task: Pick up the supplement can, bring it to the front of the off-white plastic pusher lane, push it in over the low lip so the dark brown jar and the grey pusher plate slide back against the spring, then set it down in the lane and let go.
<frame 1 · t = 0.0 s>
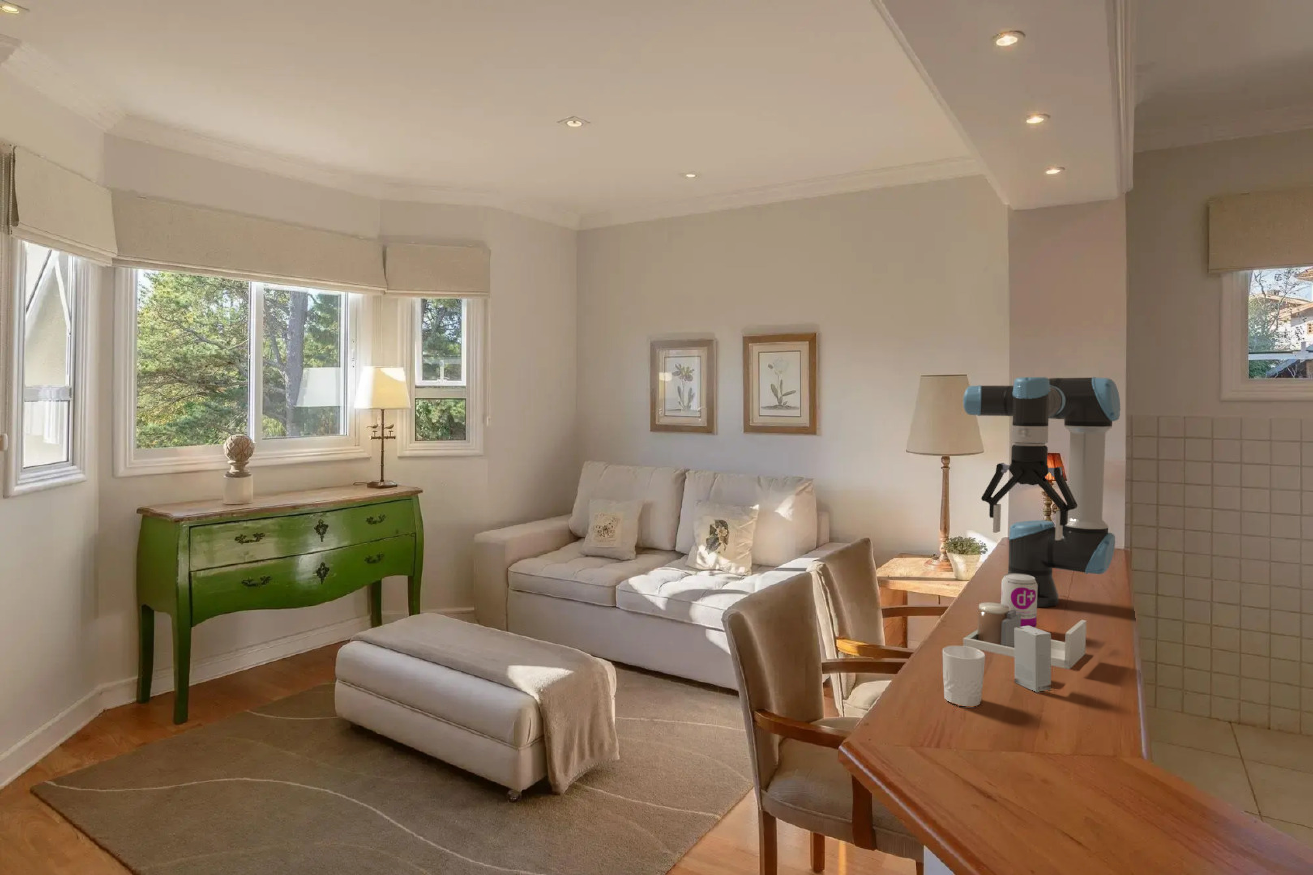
hand: (1026, 535, 182), 28 cm above the breakfast bar, tool pointing down, fingers open, 13 cm apart
skincare box: (1031, 687, 164), on the breakfast bar
lane: (1022, 654, 183), on the breakfast bar
supplement can: (1017, 636, 197), on the breakfast bar
white cup: (962, 701, 157), on the breakfast bar
pusher: (1011, 628, 185), point 6 cm above the breakfast bar, slide at 6.5 cm, touching jar
jar: (993, 643, 187), point 1 cm above the breakfast bar, touching lane, pusher
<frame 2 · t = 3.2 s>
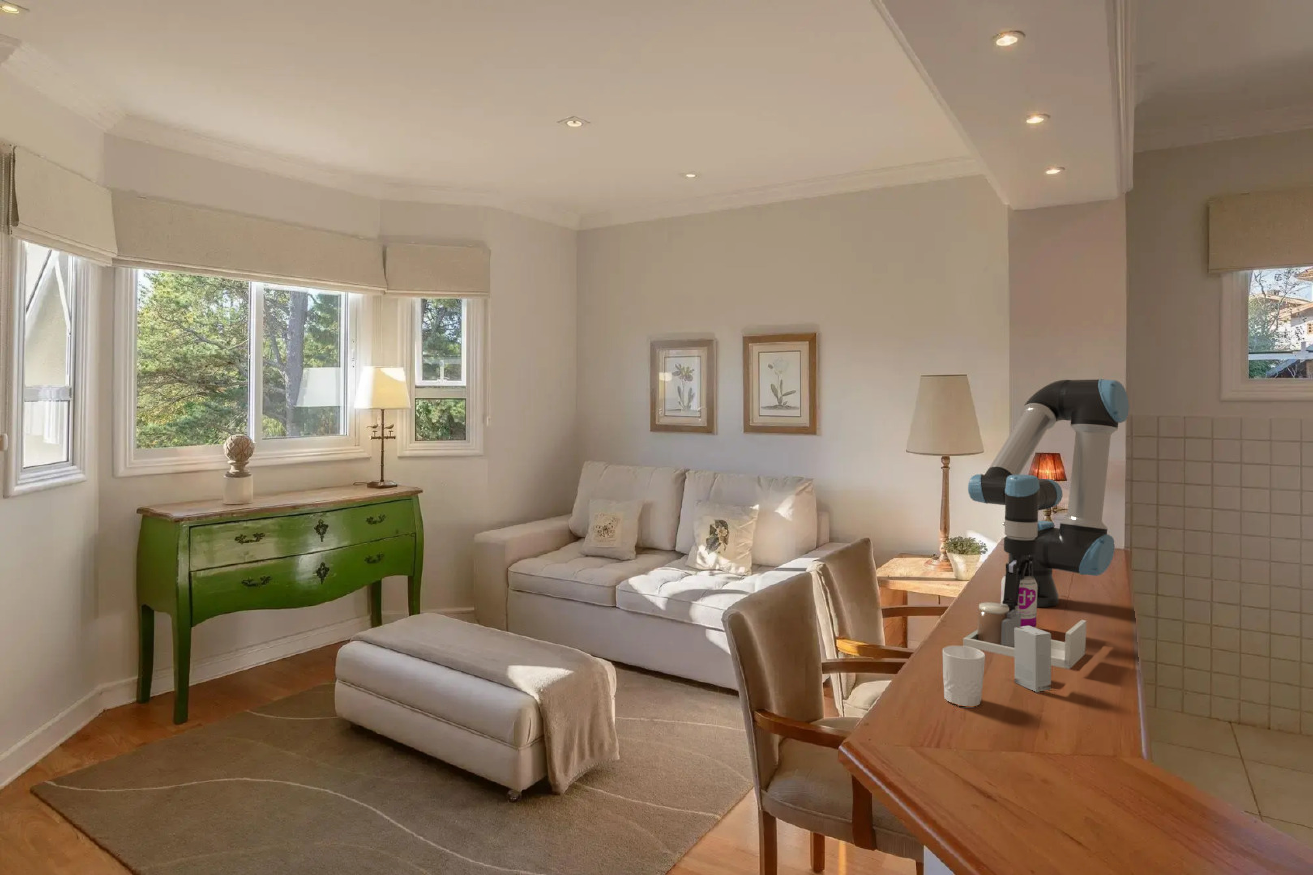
hand: (1017, 626, 197), 2 cm above the breakfast bar, tool pointing down, fingers closed on supplement can, 8 cm apart
supplement can: (1017, 636, 197), on the breakfast bar, touching gripper
everything else where it was.
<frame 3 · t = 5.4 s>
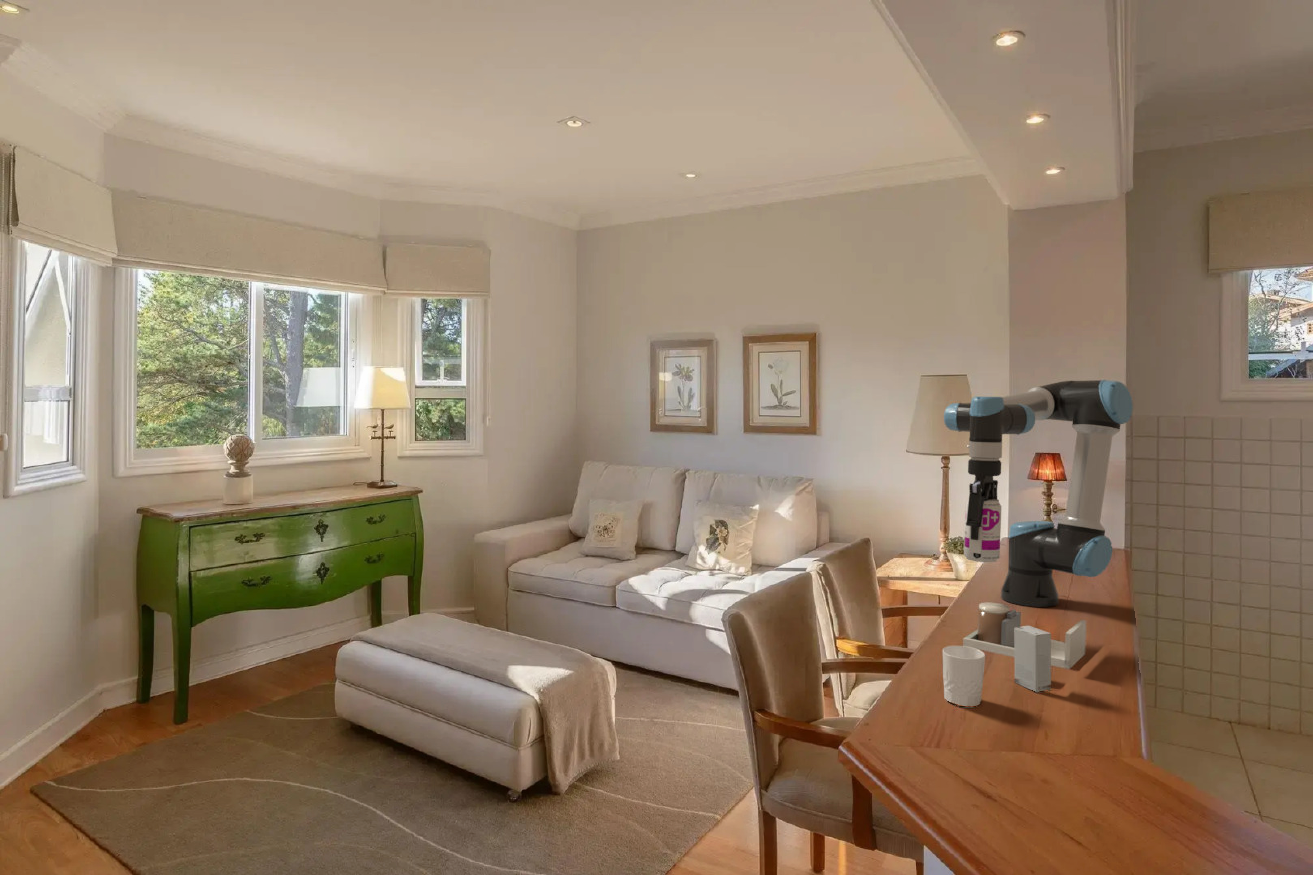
hand: (981, 549, 195), 22 cm above the breakfast bar, tool pointing down, fingers closed on supplement can, 8 cm apart
supplement can: (981, 560, 195), point 19 cm above the breakfast bar, touching gripper
everything else where it was.
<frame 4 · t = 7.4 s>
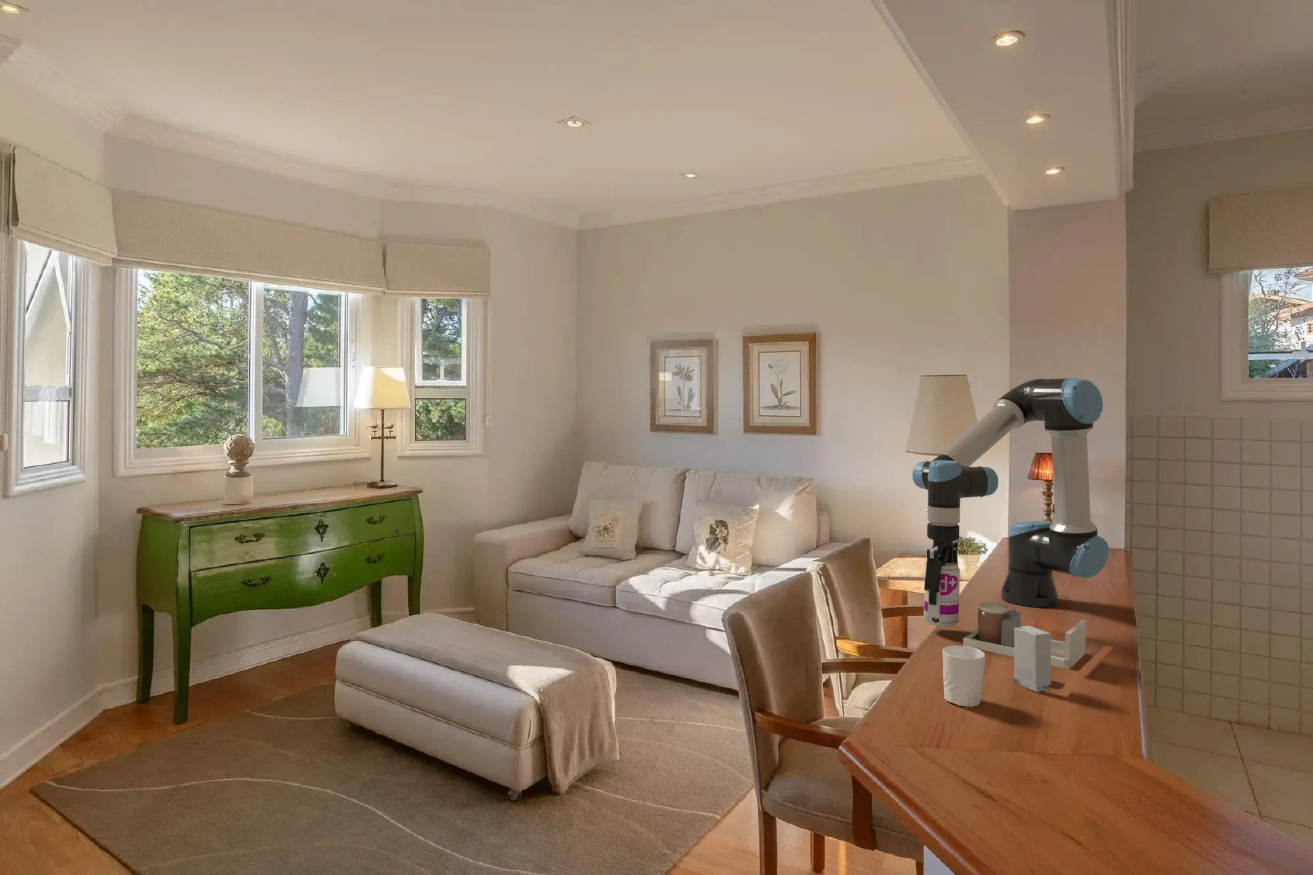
hand: (941, 613, 196), 6 cm above the breakfast bar, tool pointing down, fingers closed on supplement can, 8 cm apart
supplement can: (940, 623, 196), point 4 cm above the breakfast bar, touching gripper
everything else where it was.
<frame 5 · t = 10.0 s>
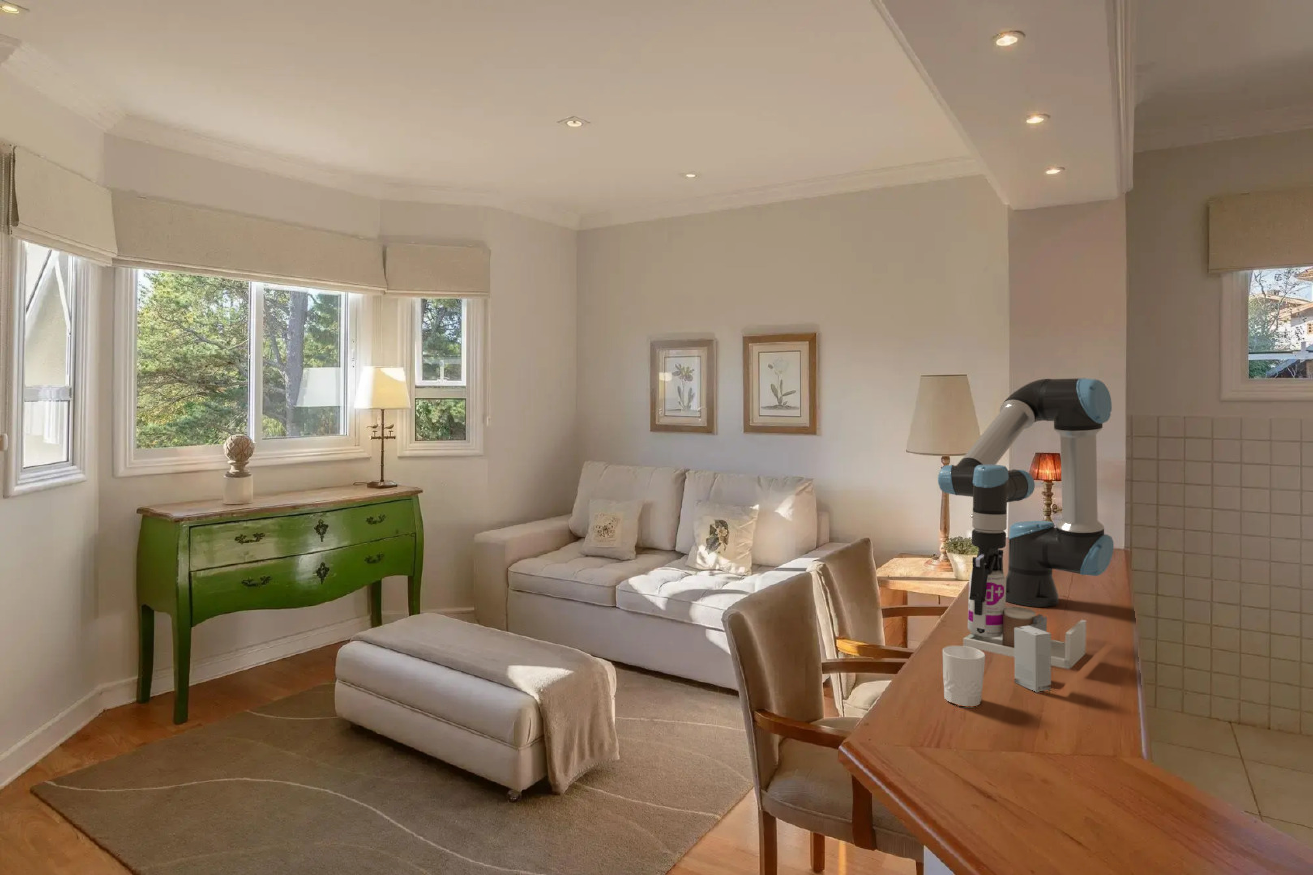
hand: (986, 623, 188), 6 cm above the breakfast bar, tool pointing down, fingers closed on supplement can, 8 cm apart
supplement can: (985, 633, 189), point 3 cm above the breakfast bar, touching gripper, jar
pusher: (1037, 634, 181), point 6 cm above the breakfast bar, slide at 12.3 cm, touching jar
jar: (1018, 648, 184), point 1 cm above the breakfast bar, touching pusher, supplement can
everything else where it was.
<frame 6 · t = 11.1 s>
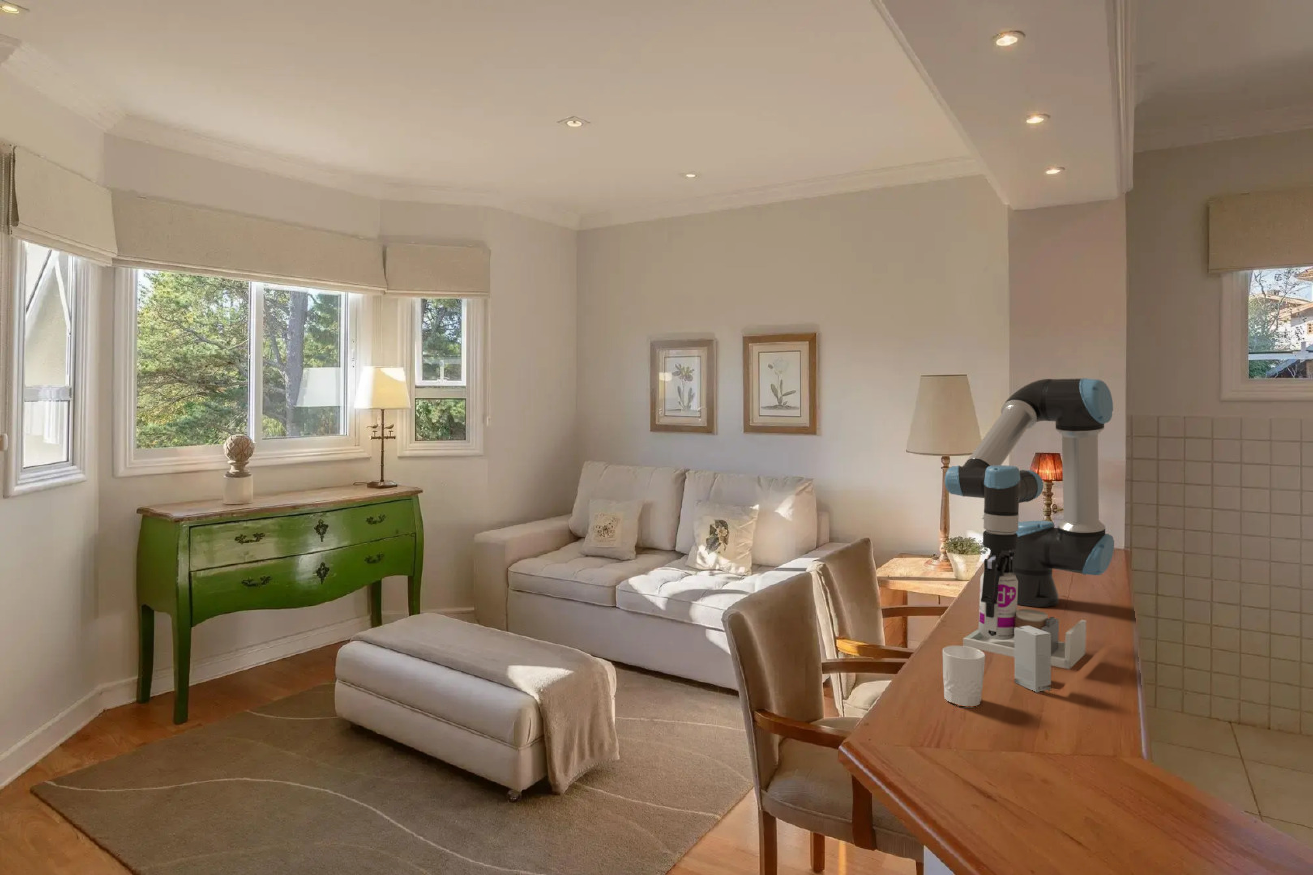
hand: (997, 625, 187), 6 cm above the breakfast bar, tool pointing down, fingers closed on supplement can, 8 cm apart
supplement can: (996, 635, 187), point 3 cm above the breakfast bar, touching gripper, jar
pusher: (1049, 636, 179), point 6 cm above the breakfast bar, slide at 14.9 cm, touching jar
jar: (1030, 651, 182), point 1 cm above the breakfast bar, touching lane, pusher, supplement can
everything else where it was.
when the fingers open (4 cm above the breakfast bar, at t = 12.0 s): supplement can stays where it is, resting on jar, lane.
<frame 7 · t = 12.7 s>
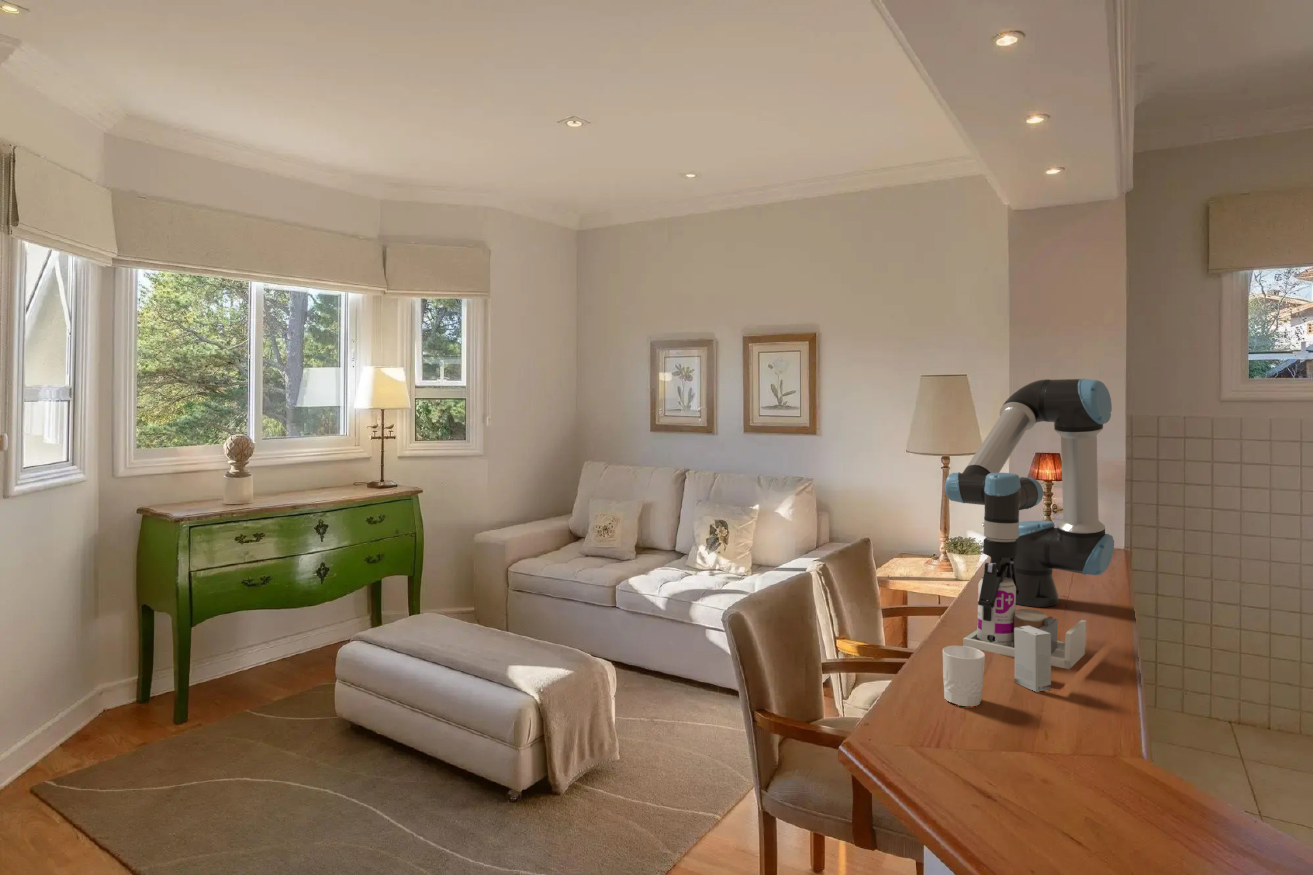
hand: (998, 627, 186), 5 cm above the breakfast bar, tool pointing down, fingers open, 13 cm apart
supplement can: (995, 642, 187), point 2 cm above the breakfast bar, touching jar, lane
everything else where it was.
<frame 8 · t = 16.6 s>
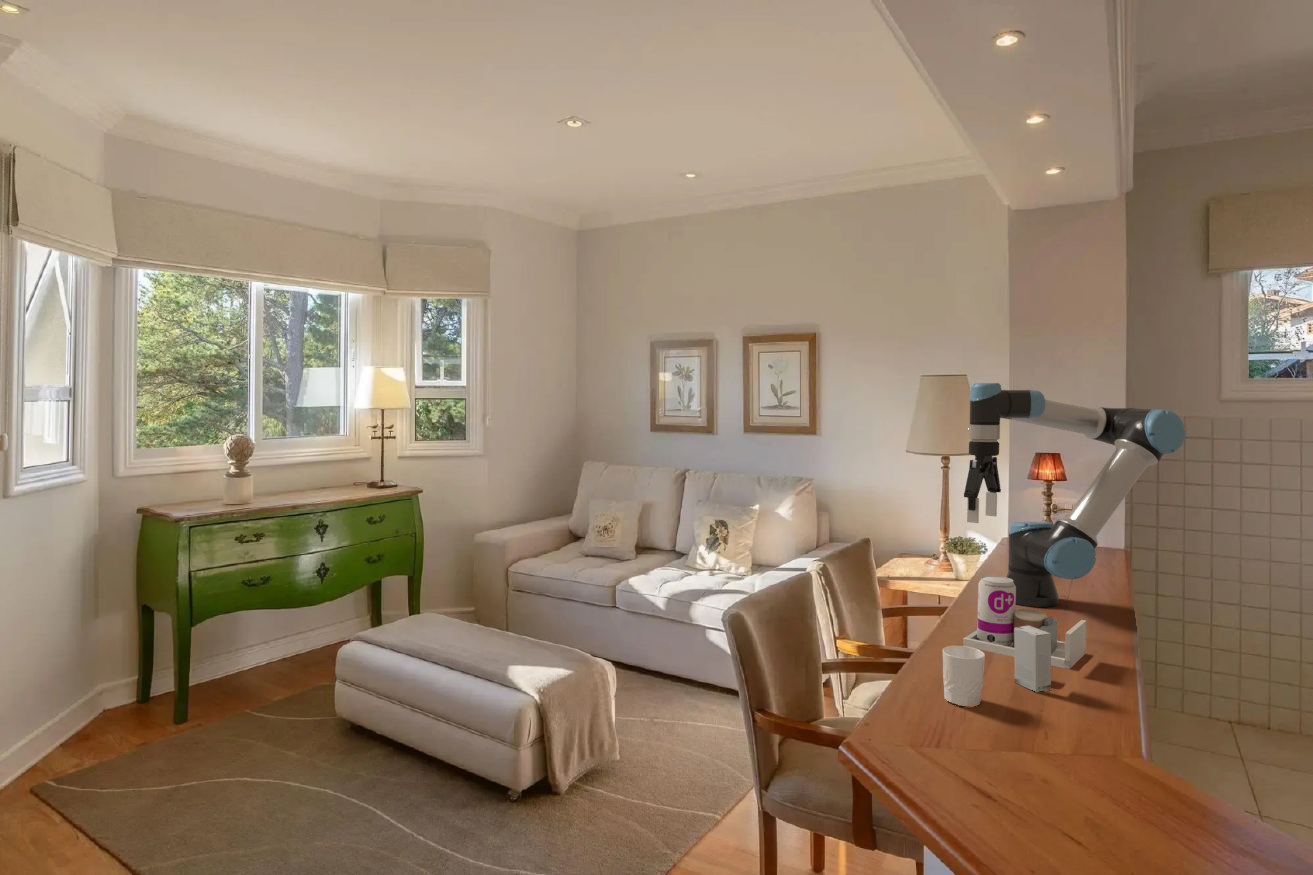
hand: (982, 519, 211), 27 cm above the breakfast bar, tool pointing down, fingers open, 13 cm apart
nothing on the breakfast bar moved.
at the end: supplement can inside the target area (1.0 cm from its centre), point 1.7 cm above the breakfast bar; supplement can tilted 0°; pusher slide at 14.6 cm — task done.
